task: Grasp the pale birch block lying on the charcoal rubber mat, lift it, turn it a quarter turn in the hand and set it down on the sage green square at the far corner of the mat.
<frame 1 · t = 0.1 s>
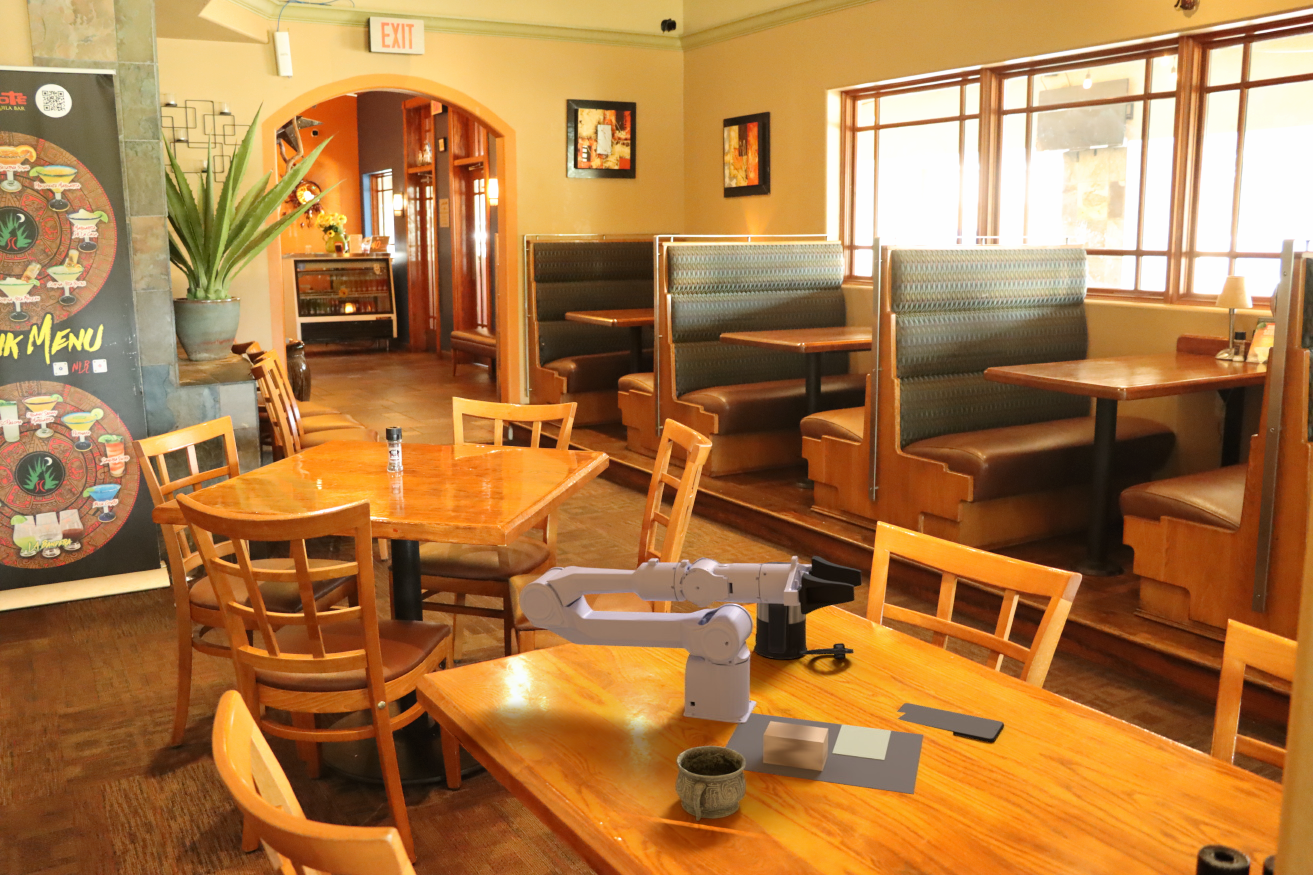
hand: (857, 585, 155), 22 cm above the table, tool horizontal, fingers open, 7 cm apart
smartphone: (946, 726, 161), on the table
milk frother: (802, 656, 188), on the table
birch block: (795, 759, 148), resting on rubber mat
rubber mat: (822, 752, 151), on the table
vessel: (710, 808, 137), on the table
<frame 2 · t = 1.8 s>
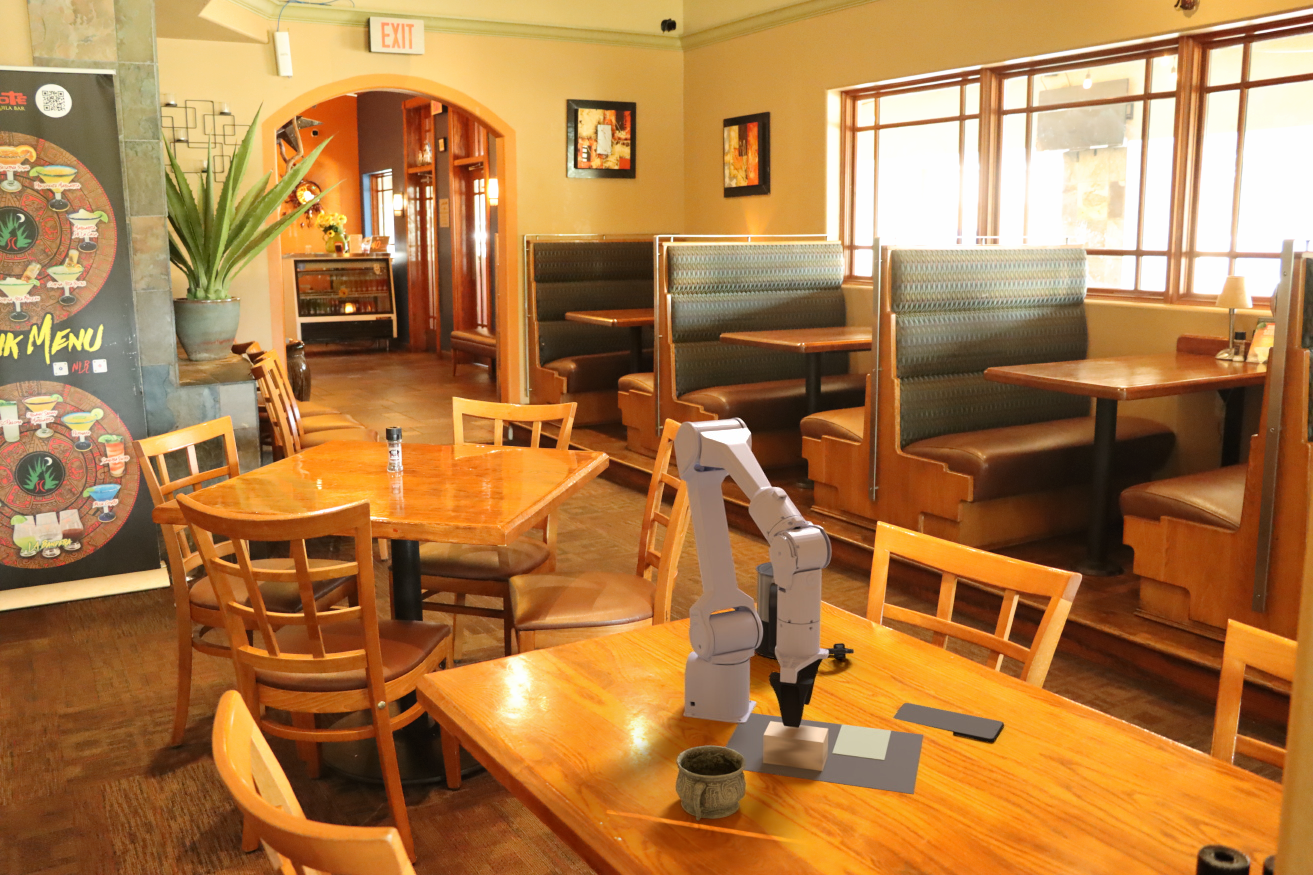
hand: (796, 714, 147), 7 cm above the table, tool pointing down, fingers open, 7 cm apart
nothing on the table moved.
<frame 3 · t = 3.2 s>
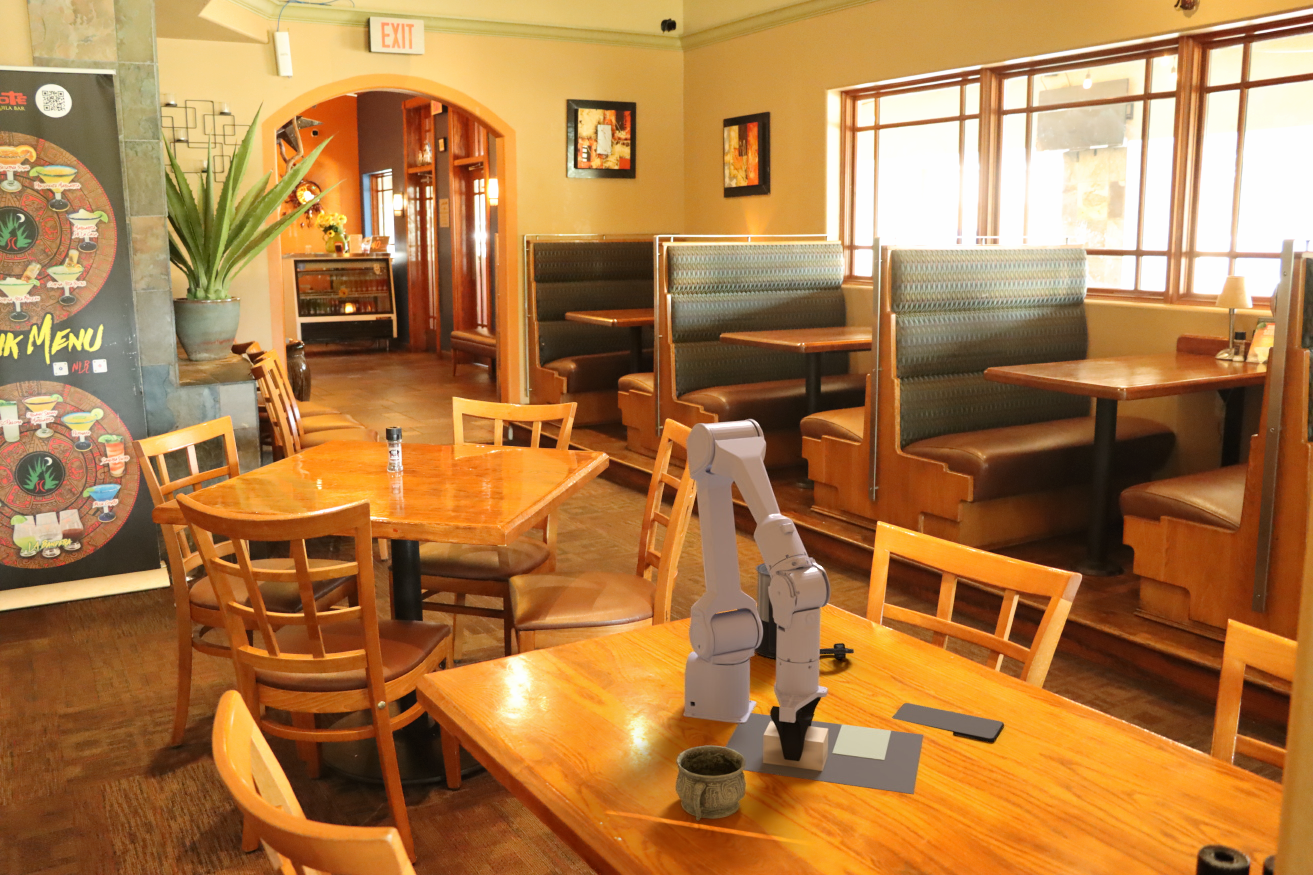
hand: (795, 750, 148), 2 cm above the table, tool pointing down, fingers closed on birch block, 4 cm apart
birch block: (795, 759, 148), resting on rubber mat, touching gripper
everything else where it was.
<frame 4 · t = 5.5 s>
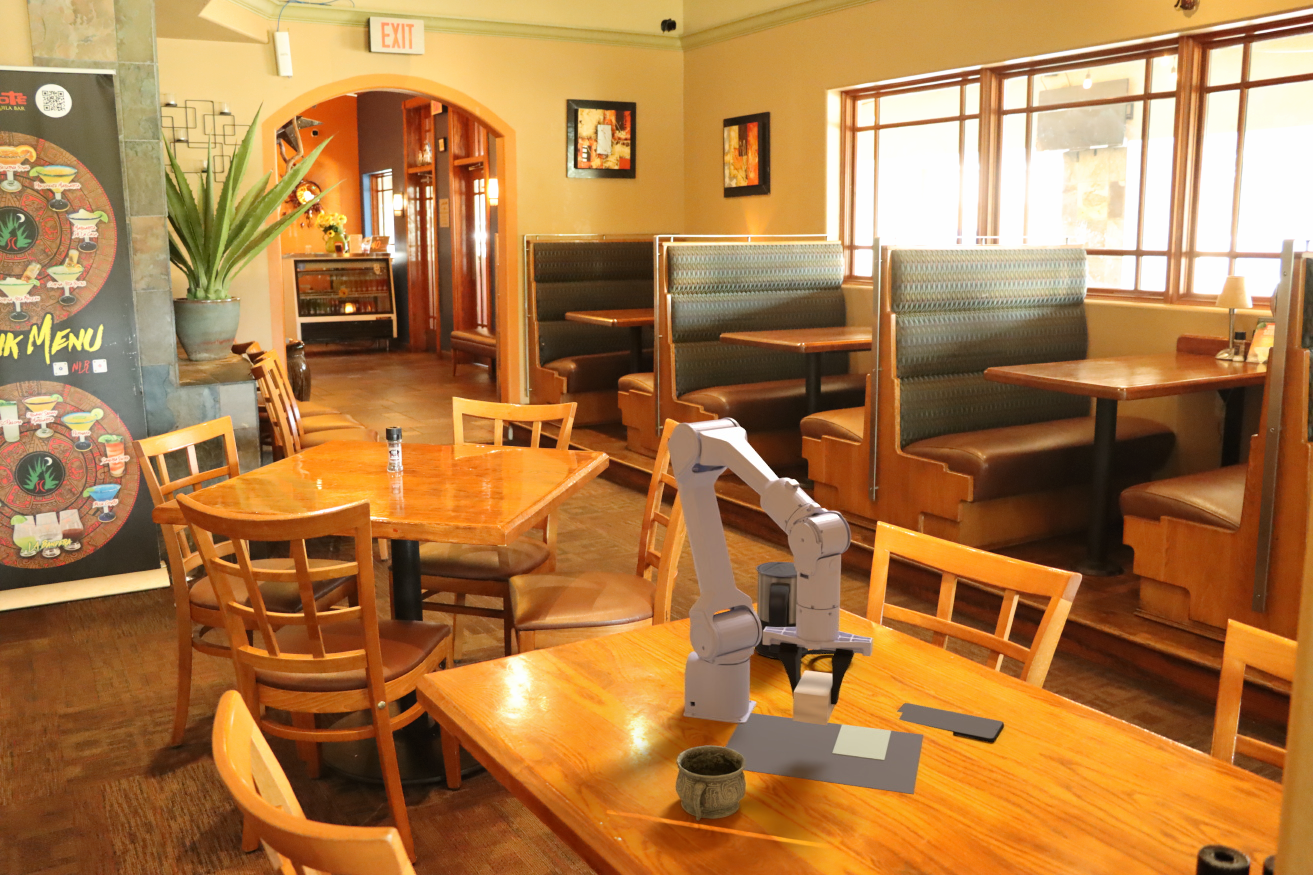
hand: (815, 699, 148), 8 cm above the table, tool pointing down, fingers closed on birch block, 4 cm apart
birch block: (815, 710, 148), point 7 cm above the table, touching gripper
everything else where it was.
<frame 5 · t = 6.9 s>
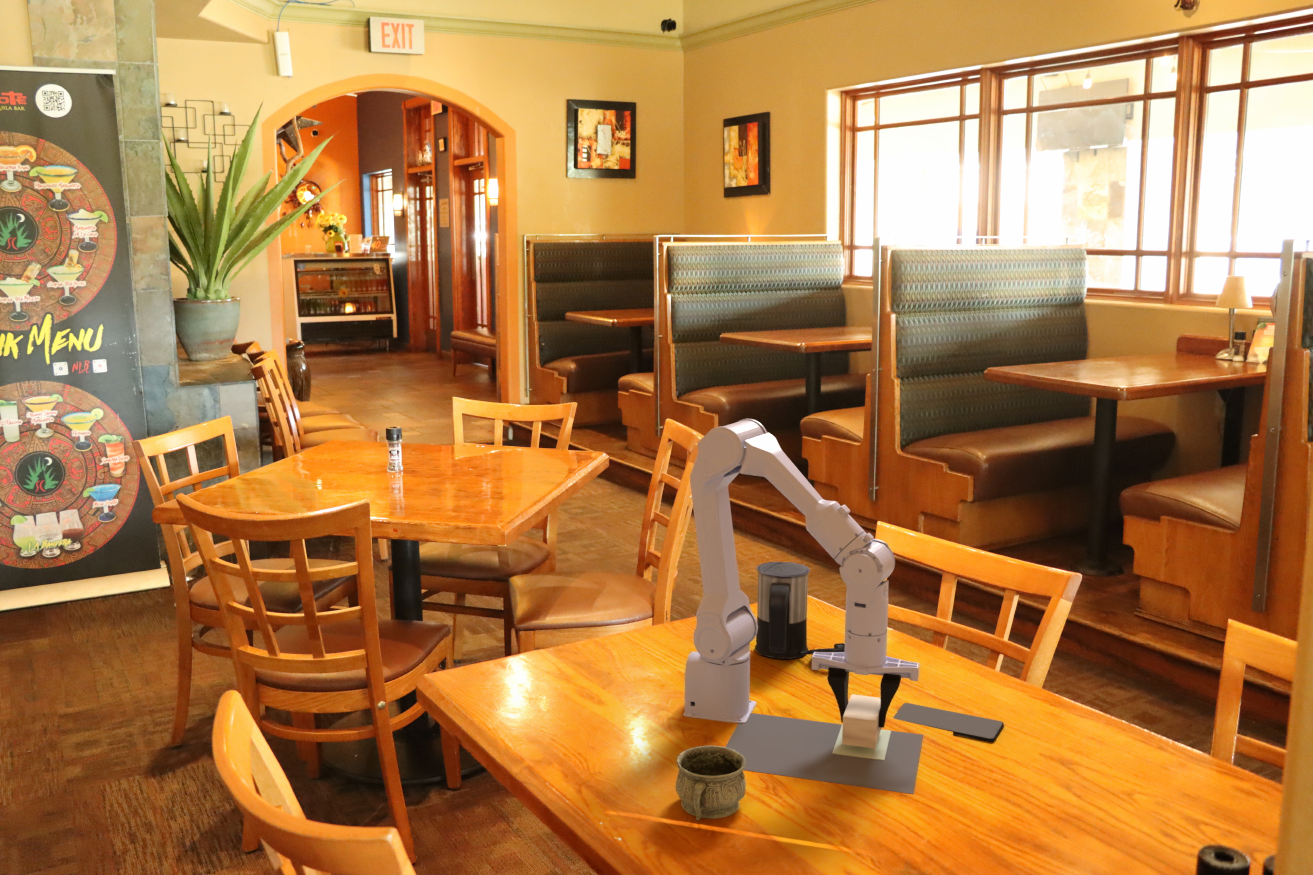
hand: (863, 722, 153), 3 cm above the table, tool pointing down, fingers closed on birch block, 4 cm apart
birch block: (862, 734, 153), point 2 cm above the table, touching gripper
everything else where it was.
when the fingers open (3 cm above the table, at t = 7.9 s): birch block stays where it is, resting on rubber mat.
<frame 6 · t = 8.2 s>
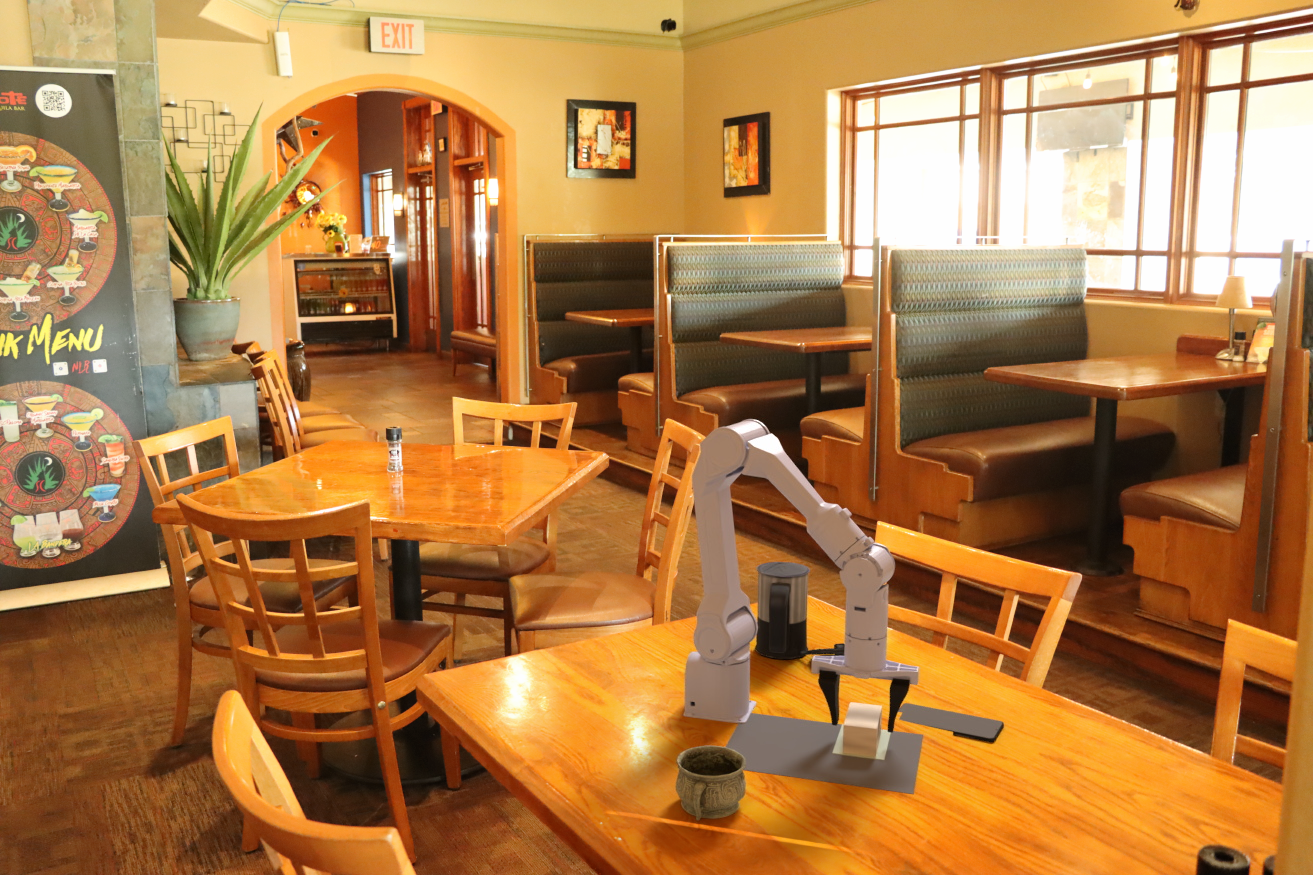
hand: (862, 725, 153), 3 cm above the table, tool pointing down, fingers open, 7 cm apart
birch block: (862, 741, 153), resting on rubber mat
everything else where it was.
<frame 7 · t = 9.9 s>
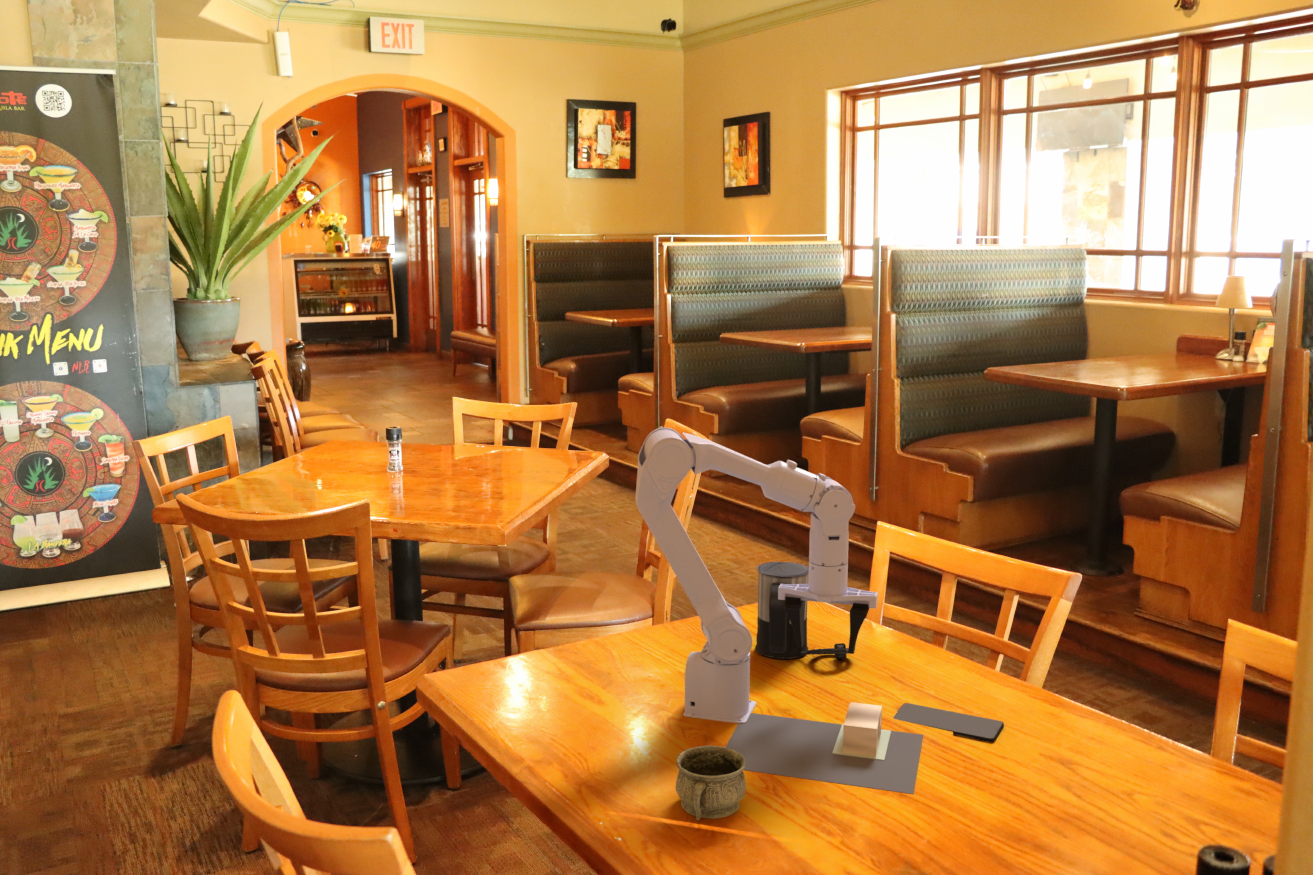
hand: (826, 648, 164), 9 cm above the table, tool pointing down, fingers open, 7 cm apart
nothing on the table moved.
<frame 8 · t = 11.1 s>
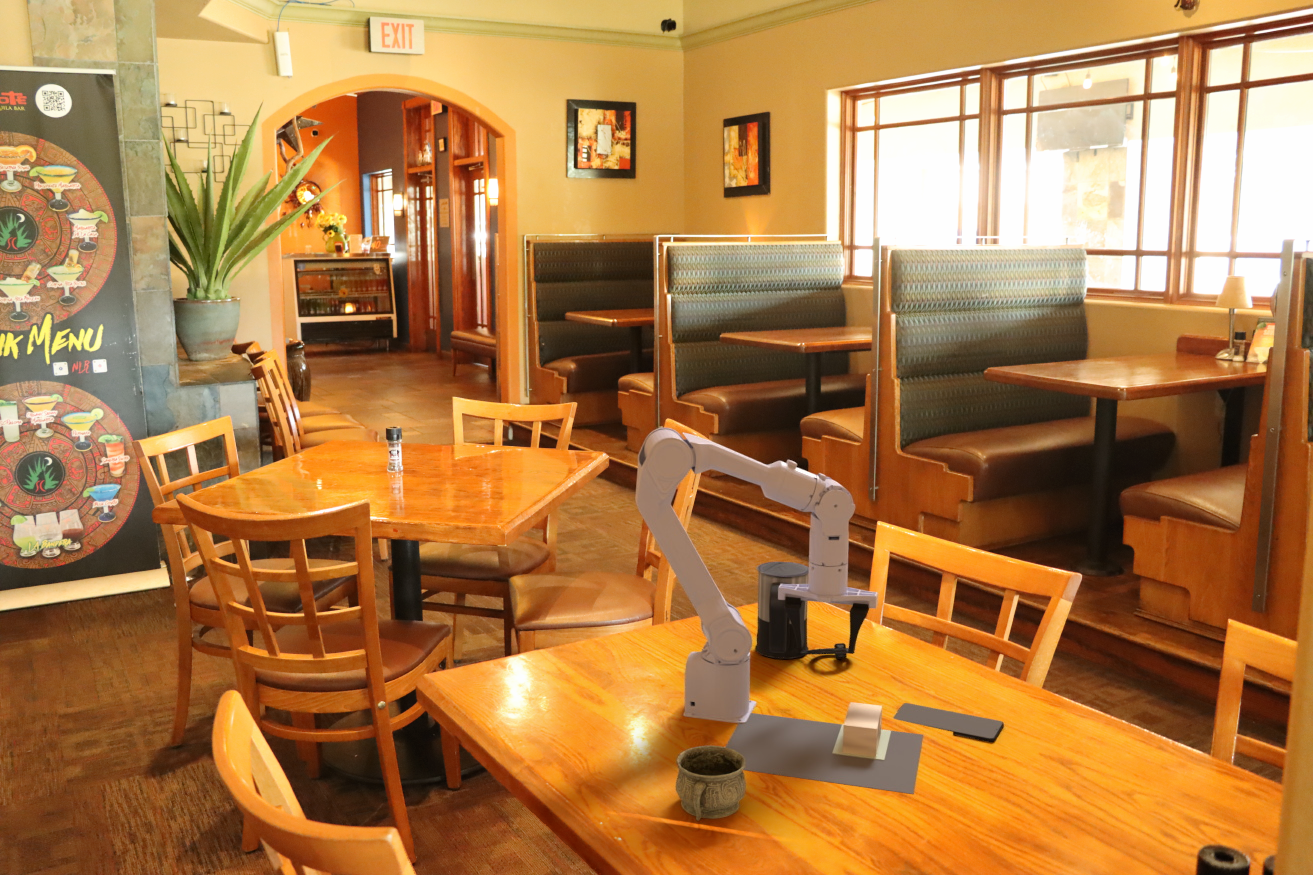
hand: (826, 648, 164), 9 cm above the table, tool pointing down, fingers open, 7 cm apart
nothing on the table moved.
at the end: birch block 0.2 cm from the target spot, point 0.5 cm above the table; birch block tilted 0°; the gripper is holding nothing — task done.
